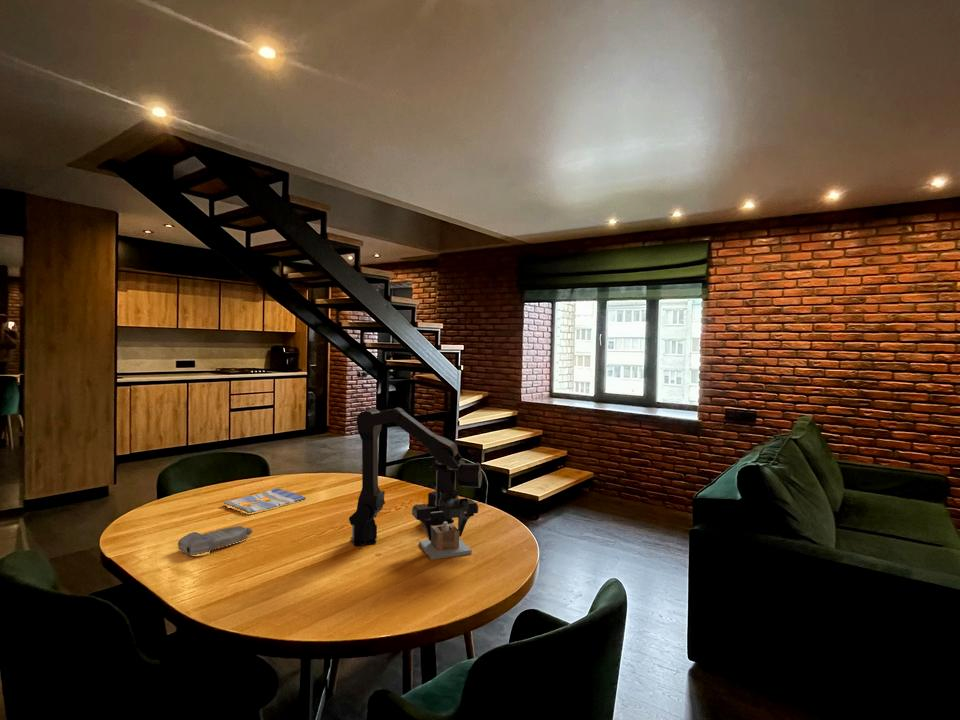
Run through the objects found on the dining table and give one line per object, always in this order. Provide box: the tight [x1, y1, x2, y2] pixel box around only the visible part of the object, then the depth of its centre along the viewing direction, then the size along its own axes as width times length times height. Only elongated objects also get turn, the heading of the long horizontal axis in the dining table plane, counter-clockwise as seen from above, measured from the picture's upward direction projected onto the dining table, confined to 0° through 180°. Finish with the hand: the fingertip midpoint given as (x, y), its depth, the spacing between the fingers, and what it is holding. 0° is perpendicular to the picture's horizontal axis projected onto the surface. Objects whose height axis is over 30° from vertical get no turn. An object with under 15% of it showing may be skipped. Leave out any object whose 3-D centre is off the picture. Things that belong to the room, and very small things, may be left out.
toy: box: [426, 490, 455, 526], centre depth 169 cm, size 8×14×10 cm, turn 44°
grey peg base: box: [418, 522, 473, 561], centre depth 149 cm, size 12×12×8 cm
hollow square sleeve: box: [431, 523, 460, 551], centre depth 149 cm, size 6×6×5 cm
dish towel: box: [223, 487, 306, 513], centre depth 188 cm, size 17×24×3 cm
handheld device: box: [177, 525, 254, 556], centre depth 149 cm, size 10×20×5 cm, turn 144°
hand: (445, 538), depth 149 cm, fingers open, 9 cm apart
